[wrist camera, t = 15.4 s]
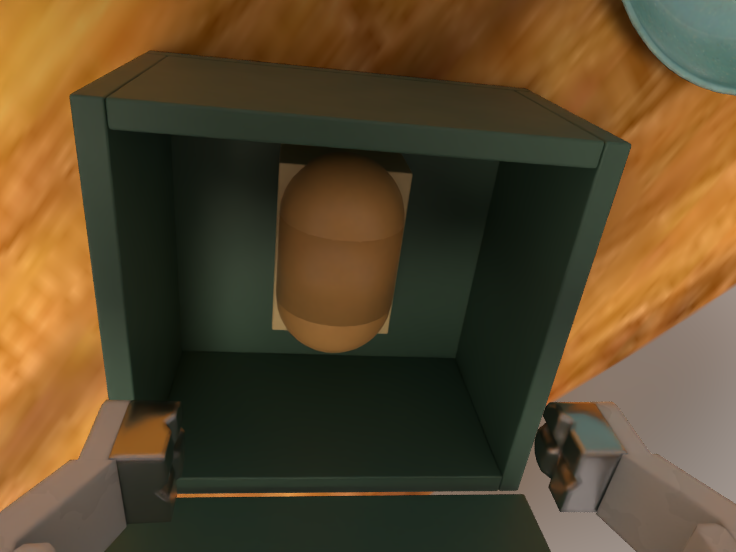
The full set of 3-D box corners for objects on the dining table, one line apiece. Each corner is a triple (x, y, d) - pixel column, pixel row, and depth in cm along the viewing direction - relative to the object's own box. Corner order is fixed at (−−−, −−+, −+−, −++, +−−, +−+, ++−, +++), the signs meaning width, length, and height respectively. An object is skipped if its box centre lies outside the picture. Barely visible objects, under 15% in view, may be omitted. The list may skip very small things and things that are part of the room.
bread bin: (148, 50, 21) (68, 94, 13) (527, 88, 23) (633, 144, 16) (168, 353, 27) (120, 495, 20) (463, 361, 29) (518, 491, 22)
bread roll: (281, 129, 22) (277, 169, 18) (403, 140, 23) (428, 180, 18) (273, 307, 26) (268, 375, 21) (378, 311, 26) (394, 378, 22)
